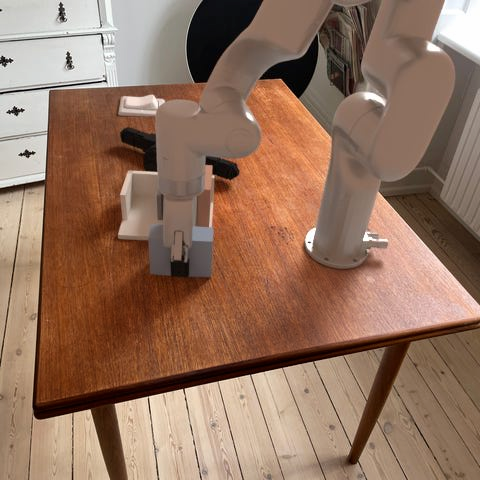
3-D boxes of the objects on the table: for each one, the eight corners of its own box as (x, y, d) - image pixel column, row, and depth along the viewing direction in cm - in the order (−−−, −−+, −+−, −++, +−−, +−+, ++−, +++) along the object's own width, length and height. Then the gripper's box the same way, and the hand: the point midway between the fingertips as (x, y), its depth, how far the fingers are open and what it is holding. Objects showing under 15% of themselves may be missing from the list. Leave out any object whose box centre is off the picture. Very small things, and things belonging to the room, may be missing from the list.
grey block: (153, 260, 93) (151, 224, 88) (212, 262, 94) (213, 227, 88) (150, 274, 90) (148, 238, 85) (211, 277, 90) (212, 241, 85)
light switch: (165, 107, 138) (118, 103, 135) (164, 120, 140) (118, 117, 138) (165, 91, 146) (120, 87, 144) (164, 104, 149) (120, 101, 146)
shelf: (213, 202, 109) (215, 160, 102) (210, 243, 98) (212, 199, 91) (130, 198, 108) (126, 155, 101) (118, 238, 97) (113, 194, 90)
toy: (275, 131, 125) (216, 175, 103) (271, 158, 130) (214, 206, 107) (167, 98, 136) (92, 131, 113) (166, 124, 140) (94, 162, 118)
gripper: (164, 150, 86) (166, 231, 97) (150, 209, 73) (155, 295, 84) (207, 153, 86) (204, 233, 98) (201, 212, 73) (199, 297, 84)
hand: (181, 261), depth 91 cm, fingers open, 6 cm apart
